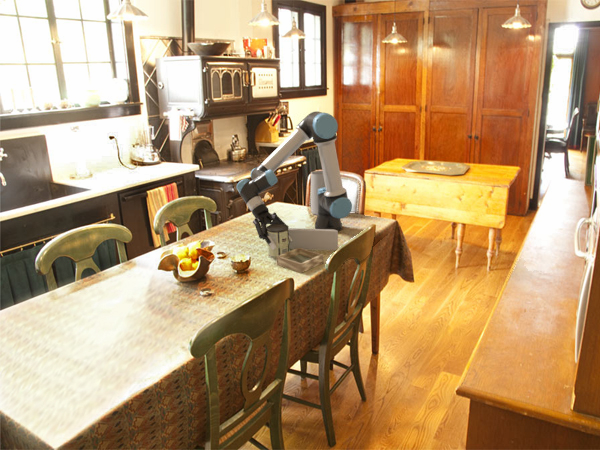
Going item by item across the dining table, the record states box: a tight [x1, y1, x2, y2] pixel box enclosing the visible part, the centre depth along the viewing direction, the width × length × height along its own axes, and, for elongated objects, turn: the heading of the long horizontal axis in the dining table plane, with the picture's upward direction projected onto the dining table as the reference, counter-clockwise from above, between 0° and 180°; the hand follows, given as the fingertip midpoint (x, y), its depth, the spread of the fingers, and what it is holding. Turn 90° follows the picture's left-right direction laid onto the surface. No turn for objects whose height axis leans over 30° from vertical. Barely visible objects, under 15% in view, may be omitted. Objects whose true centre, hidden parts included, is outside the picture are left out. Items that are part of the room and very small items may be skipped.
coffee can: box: [266, 223, 290, 260], centre depth 230 cm, size 10×10×14 cm
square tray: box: [276, 248, 324, 274], centre depth 220 cm, size 15×15×4 cm
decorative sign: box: [288, 227, 339, 251], centre depth 239 cm, size 32×4×10 cm, turn 81°
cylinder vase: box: [310, 170, 326, 216], centre depth 296 cm, size 12×12×25 cm
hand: (282, 245), depth 229 cm, fingers closed on coffee can, 10 cm apart
